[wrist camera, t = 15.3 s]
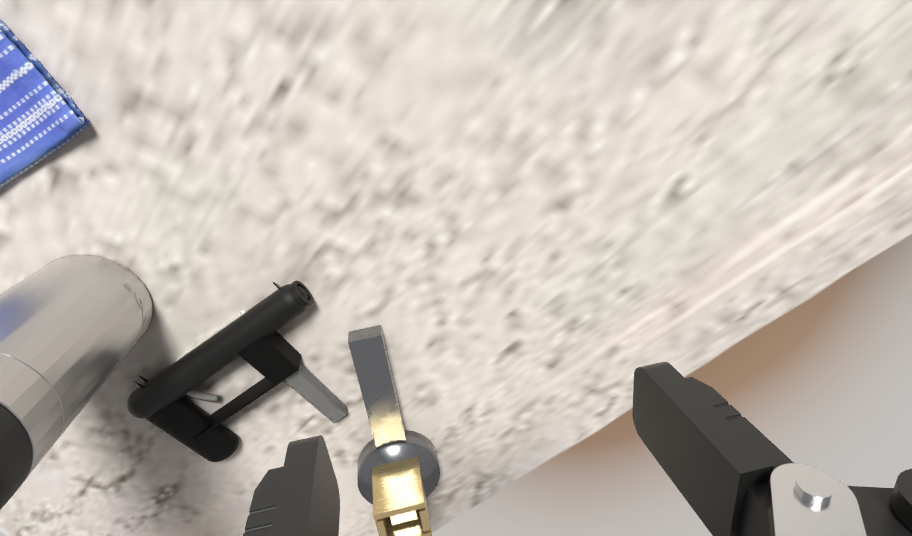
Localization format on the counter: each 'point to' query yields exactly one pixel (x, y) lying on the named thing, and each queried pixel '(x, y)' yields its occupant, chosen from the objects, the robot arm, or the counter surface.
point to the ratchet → (386, 419)
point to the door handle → (237, 338)
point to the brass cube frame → (400, 498)
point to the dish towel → (30, 110)
